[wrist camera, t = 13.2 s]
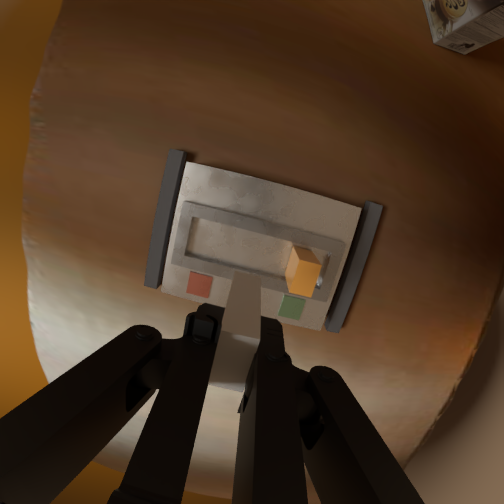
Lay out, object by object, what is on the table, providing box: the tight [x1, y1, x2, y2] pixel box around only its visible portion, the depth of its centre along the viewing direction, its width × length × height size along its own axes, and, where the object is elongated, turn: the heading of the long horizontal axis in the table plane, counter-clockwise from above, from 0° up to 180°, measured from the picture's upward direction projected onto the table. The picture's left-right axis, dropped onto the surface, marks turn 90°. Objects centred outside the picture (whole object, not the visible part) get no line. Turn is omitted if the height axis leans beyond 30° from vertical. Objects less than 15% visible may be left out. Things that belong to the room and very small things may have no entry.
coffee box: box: [423, 0, 504, 55], centre depth 18 cm, size 9×6×16 cm
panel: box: [161, 162, 362, 331], centre depth 32 cm, size 14×18×5 cm
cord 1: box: [144, 149, 187, 289], centre depth 33 cm, size 16×2×2 cm, turn 166°
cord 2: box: [325, 201, 383, 333], centre depth 34 cm, size 16×2×2 cm, turn 166°
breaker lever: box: [285, 246, 322, 297], centre depth 28 cm, size 3×2×5 cm, turn 166°
